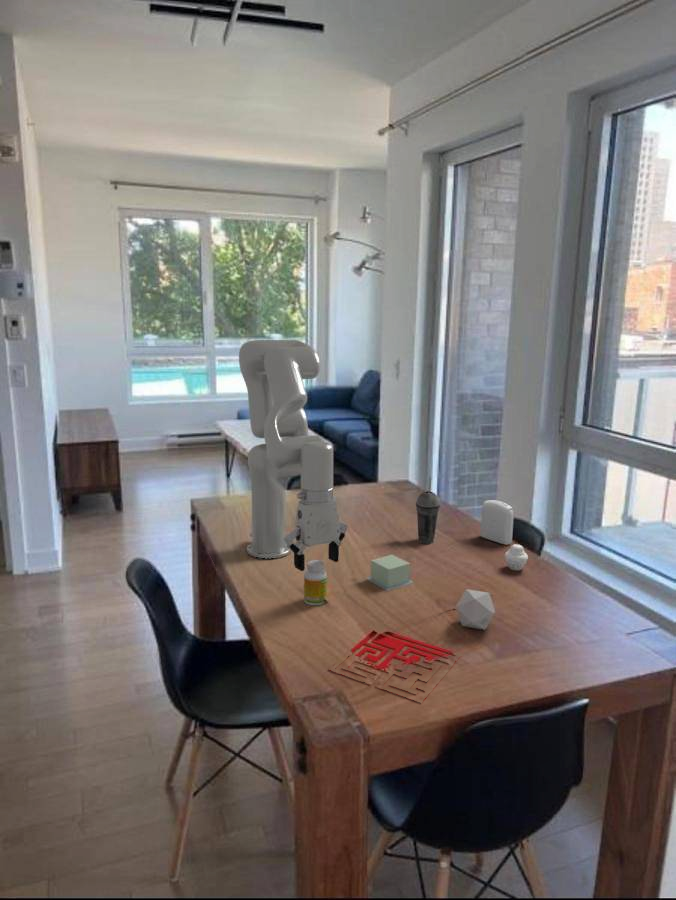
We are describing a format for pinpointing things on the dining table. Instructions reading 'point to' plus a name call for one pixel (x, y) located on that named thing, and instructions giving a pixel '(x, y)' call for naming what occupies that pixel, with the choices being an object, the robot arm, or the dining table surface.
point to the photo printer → (497, 521)
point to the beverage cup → (427, 515)
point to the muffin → (516, 557)
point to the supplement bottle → (315, 583)
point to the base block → (390, 571)
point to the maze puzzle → (395, 649)
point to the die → (475, 609)
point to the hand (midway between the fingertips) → (316, 564)
